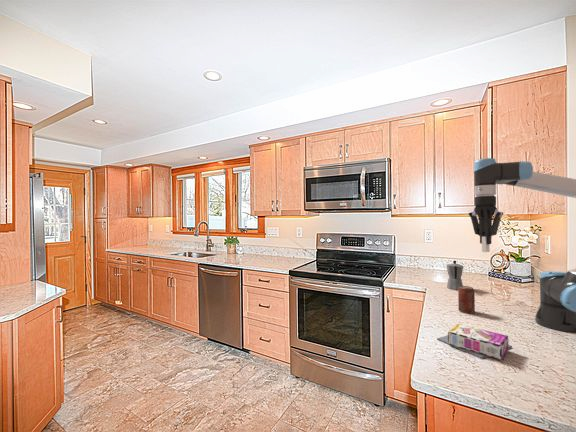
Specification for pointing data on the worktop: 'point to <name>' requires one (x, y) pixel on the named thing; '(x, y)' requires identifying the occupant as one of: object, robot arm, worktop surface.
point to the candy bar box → (478, 340)
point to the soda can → (466, 299)
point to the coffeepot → (454, 276)
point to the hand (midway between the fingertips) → (485, 251)
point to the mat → (479, 355)
